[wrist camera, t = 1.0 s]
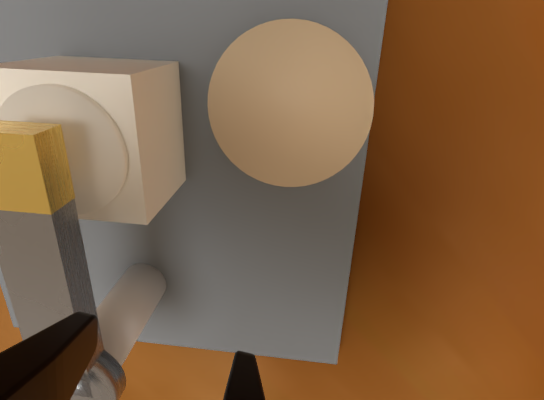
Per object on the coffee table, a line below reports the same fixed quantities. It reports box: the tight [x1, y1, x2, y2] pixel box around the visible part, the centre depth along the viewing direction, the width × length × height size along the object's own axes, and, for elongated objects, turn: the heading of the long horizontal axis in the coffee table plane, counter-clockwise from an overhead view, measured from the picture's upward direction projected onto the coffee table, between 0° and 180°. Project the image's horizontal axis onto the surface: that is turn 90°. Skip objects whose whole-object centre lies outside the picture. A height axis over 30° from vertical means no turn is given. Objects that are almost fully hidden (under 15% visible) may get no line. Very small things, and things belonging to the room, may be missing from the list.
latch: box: [0, 120, 126, 400], centre depth 14 cm, size 12×4×1 cm, turn 177°
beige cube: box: [0, 56, 186, 225], centre depth 16 cm, size 5×5×5 cm
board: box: [0, 0, 388, 366], centre depth 17 cm, size 19×20×7 cm
